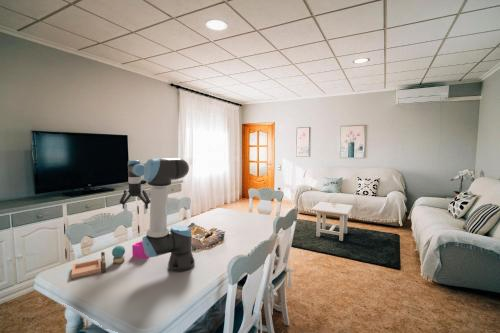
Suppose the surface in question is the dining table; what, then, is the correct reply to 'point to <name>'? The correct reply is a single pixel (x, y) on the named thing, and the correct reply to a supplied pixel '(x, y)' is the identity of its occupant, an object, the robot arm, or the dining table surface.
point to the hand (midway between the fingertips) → (135, 213)
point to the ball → (118, 251)
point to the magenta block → (139, 250)
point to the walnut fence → (103, 262)
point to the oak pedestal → (118, 260)
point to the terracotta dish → (86, 268)
